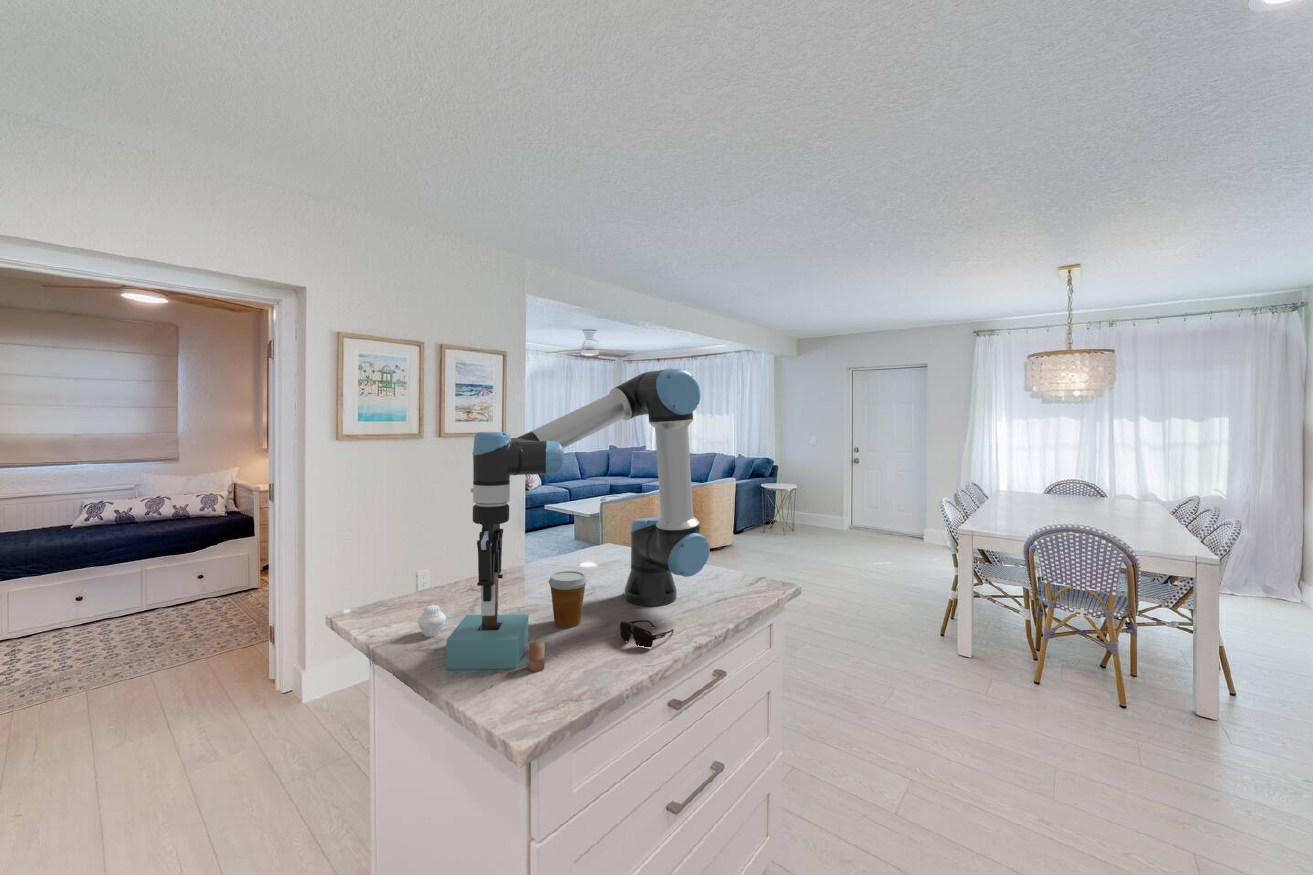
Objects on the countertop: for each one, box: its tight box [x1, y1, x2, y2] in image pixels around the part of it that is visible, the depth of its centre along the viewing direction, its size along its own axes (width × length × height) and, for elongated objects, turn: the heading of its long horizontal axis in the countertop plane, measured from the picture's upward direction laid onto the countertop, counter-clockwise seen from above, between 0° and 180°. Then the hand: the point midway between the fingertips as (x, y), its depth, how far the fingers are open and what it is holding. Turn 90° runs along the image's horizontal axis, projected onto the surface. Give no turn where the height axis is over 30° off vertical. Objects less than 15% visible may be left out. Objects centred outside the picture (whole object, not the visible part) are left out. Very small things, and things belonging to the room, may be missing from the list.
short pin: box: [527, 640, 546, 673], centre depth 107 cm, size 3×3×5 cm
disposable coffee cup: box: [548, 570, 588, 629], centre depth 132 cm, size 10×10×12 cm
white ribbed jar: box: [417, 604, 447, 638], centre depth 123 cm, size 6×6×7 cm
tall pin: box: [482, 572, 499, 631], centre depth 113 cm, size 3×3×12 cm
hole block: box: [445, 613, 530, 671], centre depth 114 cm, size 14×14×6 cm
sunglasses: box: [619, 619, 674, 648], centre depth 124 cm, size 10×12×5 cm
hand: (489, 611), depth 113 cm, fingers closed on tall pin, 3 cm apart
